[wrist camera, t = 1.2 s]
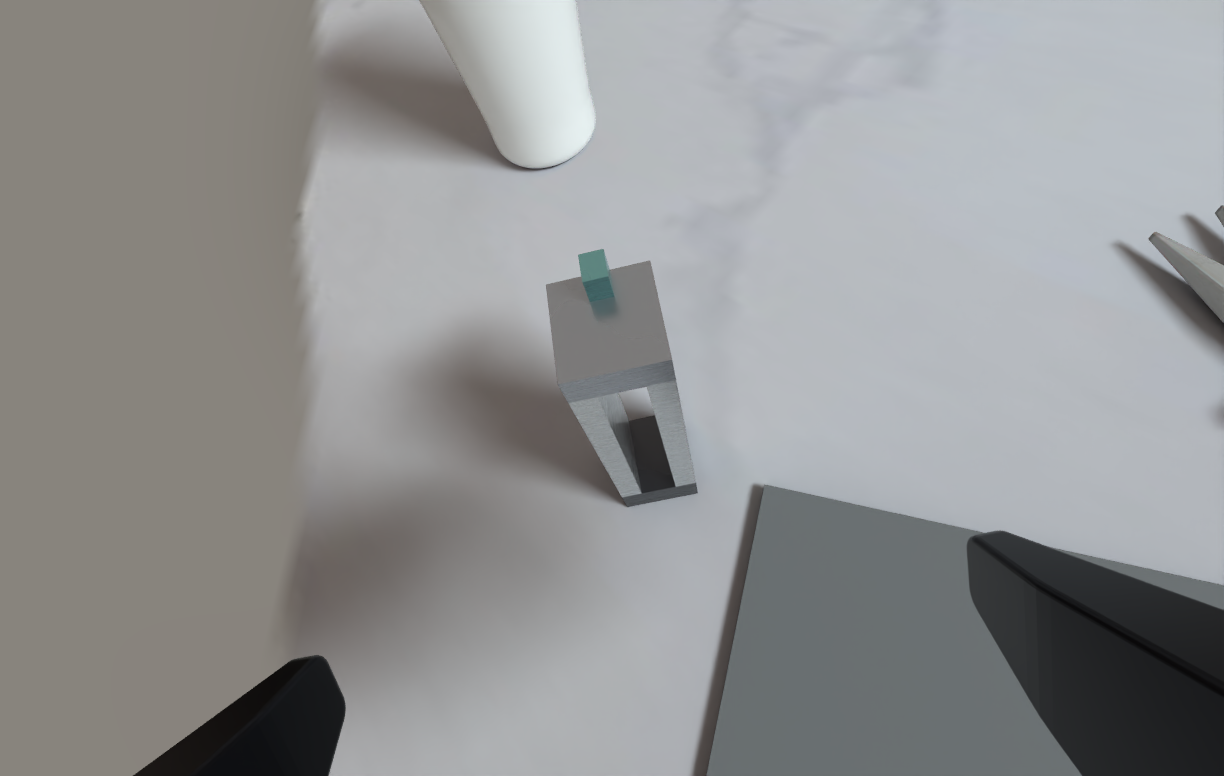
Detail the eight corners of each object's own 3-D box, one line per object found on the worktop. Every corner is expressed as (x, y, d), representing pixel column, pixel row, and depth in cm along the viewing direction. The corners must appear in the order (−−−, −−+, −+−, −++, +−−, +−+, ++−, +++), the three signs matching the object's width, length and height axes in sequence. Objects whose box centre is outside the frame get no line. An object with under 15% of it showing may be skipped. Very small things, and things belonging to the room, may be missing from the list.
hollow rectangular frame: (697, 493, 23) (668, 340, 13) (627, 506, 23) (547, 367, 13) (682, 423, 24) (646, 238, 14) (616, 437, 24) (536, 264, 15)
